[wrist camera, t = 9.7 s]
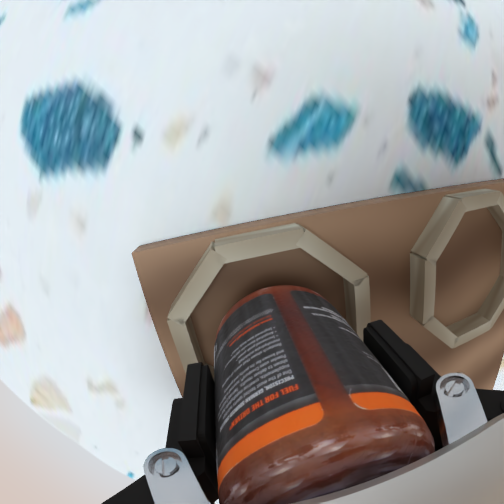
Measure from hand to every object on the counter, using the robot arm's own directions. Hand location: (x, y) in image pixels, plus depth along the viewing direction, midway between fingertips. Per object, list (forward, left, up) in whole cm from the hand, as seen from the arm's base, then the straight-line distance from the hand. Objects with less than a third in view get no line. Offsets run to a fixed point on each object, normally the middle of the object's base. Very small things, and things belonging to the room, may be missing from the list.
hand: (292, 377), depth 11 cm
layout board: (+5, +7, -6) cm, 11 cm away
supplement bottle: (0, 0, -3) cm, 3 cm away
